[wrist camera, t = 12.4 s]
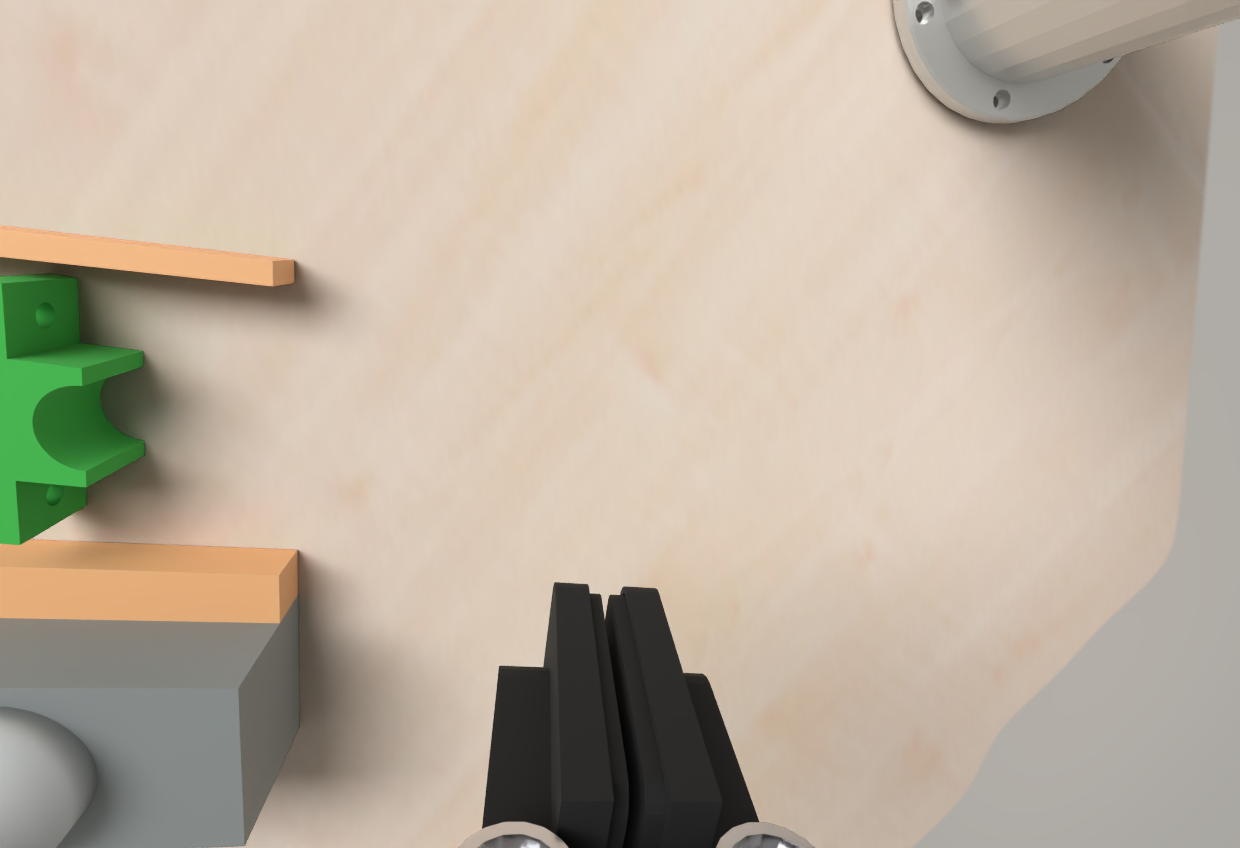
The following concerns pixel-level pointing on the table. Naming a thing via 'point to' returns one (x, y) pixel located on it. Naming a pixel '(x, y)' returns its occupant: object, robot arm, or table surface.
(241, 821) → the orange and grey frame
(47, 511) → the pipe clamp
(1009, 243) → the table surface
